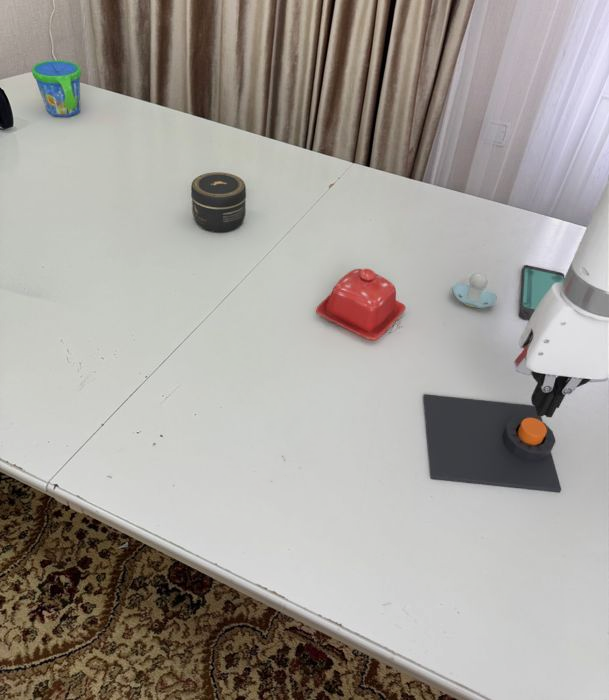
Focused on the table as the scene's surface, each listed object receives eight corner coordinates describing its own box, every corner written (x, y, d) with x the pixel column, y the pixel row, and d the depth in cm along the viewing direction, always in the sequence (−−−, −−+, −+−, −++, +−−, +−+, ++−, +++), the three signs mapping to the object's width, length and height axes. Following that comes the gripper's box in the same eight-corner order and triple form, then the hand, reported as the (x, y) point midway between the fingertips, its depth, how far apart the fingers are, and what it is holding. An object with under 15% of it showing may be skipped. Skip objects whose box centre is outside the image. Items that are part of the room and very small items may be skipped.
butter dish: (408, 311, 101) (418, 268, 95) (373, 348, 94) (382, 304, 88) (348, 284, 105) (354, 241, 100) (310, 318, 98) (315, 273, 92)
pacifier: (454, 285, 108) (447, 303, 103) (463, 254, 104) (456, 272, 99) (496, 297, 106) (491, 316, 102) (507, 266, 102) (502, 285, 98)
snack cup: (94, 122, 146) (87, 77, 139) (47, 127, 142) (37, 81, 135) (79, 97, 156) (72, 55, 149) (35, 102, 152) (26, 58, 145)
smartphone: (521, 312, 101) (524, 263, 112) (518, 318, 102) (521, 268, 113) (567, 323, 100) (566, 272, 111) (564, 329, 101) (563, 278, 111)
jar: (182, 217, 118) (179, 180, 112) (225, 202, 123) (224, 166, 118) (213, 240, 112) (211, 203, 107) (256, 224, 118) (257, 187, 112)
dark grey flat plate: (537, 409, 87) (543, 397, 85) (560, 493, 76) (567, 481, 75) (422, 397, 87) (426, 384, 85) (430, 479, 77) (434, 467, 75)
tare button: (539, 427, 81) (544, 418, 80) (544, 446, 79) (549, 437, 78) (515, 425, 81) (519, 416, 80) (519, 444, 79) (524, 435, 78)
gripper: (660, 275, 67) (593, 393, 79) (523, 260, 67) (477, 380, 79) (687, 319, 61) (610, 438, 74) (537, 302, 61) (485, 424, 74)
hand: (541, 408), depth 76 cm, fingers closed
